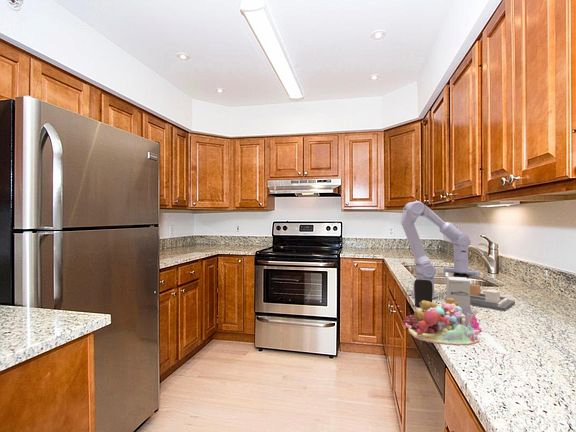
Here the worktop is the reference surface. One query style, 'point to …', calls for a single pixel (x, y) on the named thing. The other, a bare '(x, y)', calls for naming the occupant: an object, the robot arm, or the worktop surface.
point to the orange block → (475, 290)
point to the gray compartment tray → (481, 302)
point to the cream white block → (492, 296)
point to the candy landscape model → (443, 324)
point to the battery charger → (423, 290)
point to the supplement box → (459, 291)
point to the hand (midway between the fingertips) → (461, 290)
